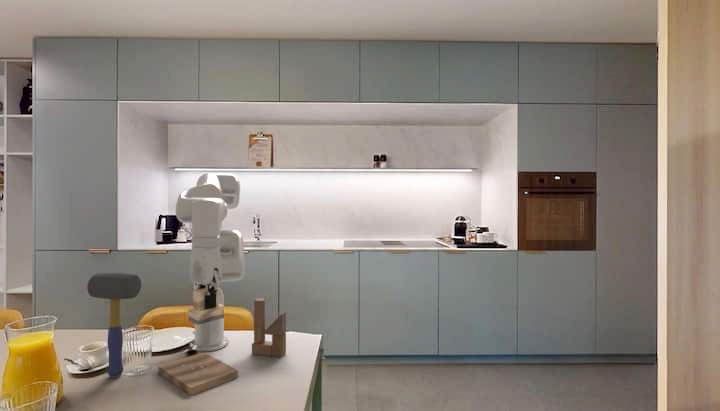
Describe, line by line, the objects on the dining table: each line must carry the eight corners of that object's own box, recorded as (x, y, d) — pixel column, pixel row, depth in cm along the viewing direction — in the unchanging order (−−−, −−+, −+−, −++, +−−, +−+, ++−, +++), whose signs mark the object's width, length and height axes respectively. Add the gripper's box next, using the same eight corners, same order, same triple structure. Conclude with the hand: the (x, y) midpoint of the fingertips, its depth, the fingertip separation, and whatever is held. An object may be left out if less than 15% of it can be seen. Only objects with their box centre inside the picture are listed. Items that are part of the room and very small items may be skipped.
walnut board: (158, 372, 116) (158, 366, 116) (203, 358, 126) (203, 352, 126) (190, 395, 103) (190, 387, 103) (238, 377, 114) (238, 370, 113)
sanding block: (197, 324, 107) (197, 293, 107) (188, 320, 110) (188, 290, 110) (223, 317, 113) (223, 288, 113) (214, 314, 117) (214, 285, 116)
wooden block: (281, 357, 127) (281, 302, 127) (251, 354, 130) (251, 300, 129) (286, 353, 131) (286, 299, 131) (256, 350, 133) (256, 297, 133)
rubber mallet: (144, 371, 117) (143, 271, 116) (126, 383, 109) (125, 276, 109) (105, 369, 118) (104, 270, 117) (85, 381, 110) (84, 274, 110)
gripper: (179, 241, 113) (179, 304, 114) (209, 246, 103) (209, 316, 104) (203, 239, 119) (203, 298, 120) (234, 244, 109) (234, 309, 109)
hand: (206, 306), depth 112 cm, fingers closed on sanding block, 3 cm apart
